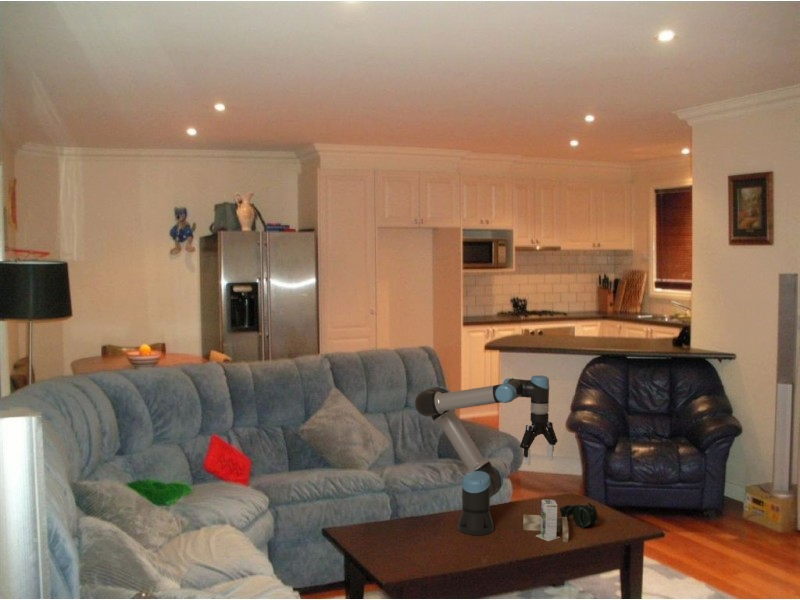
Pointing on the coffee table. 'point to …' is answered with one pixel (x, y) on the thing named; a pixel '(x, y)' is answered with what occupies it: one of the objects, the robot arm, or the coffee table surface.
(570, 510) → the headphones
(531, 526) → the beige l-shaped wall
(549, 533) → the syrup box
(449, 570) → the coffee table surface
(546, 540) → the pad
